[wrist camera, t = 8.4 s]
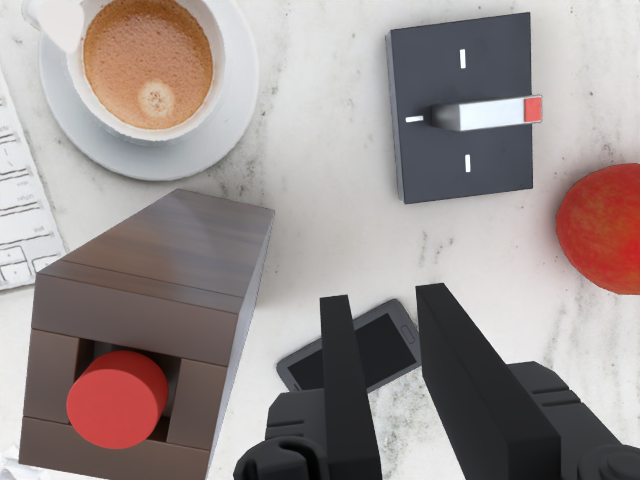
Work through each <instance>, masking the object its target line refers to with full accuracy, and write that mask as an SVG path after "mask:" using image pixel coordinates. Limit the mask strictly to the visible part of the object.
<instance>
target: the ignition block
mask: <svg viewBox="0 0 640 480" xmlns="http://www.w3.org/2000/svg"><path fill="white" fill-rule="evenodd" d="M274 214H275V210H271V209H267V208H262V207H258V206H253V205H249V204H244V203H240V202H235V201H230V200H226V199H221V198H217V197H212V196H208V195H203V194H199V193H194V192H190V191H185V190H181V189H176V190H174V191H173V192H171V193H169V194H168V195H166V196H164V197H163V198H161V199H159V200H158V201H156V202H154V203H153V204H151V205H149V206H148V207H146V208H144V209H143V210H141V211H139V212H138V213H136V214H134V215H133V216H131V217H129V218H128V219H126V220H124V221H122V222H121V223H119V224H117V225H116V226H114V227H112V228H111V229H109V230H107V231H106V232H104V233H102V234H101V235H99V236H97V237H96V238H94V239H92V240H91V241H89V242H87V243H86V244H84V245H82V246H81V247H79V248H77V249H76V250H74V251H72V252H71V253H69V254H67V255H66V256H64V257H62V258H61V259H59V260H57V261H55V262H54V263H52V264H50V265H49V266H47V267H45V268H44V269H42V270H40V271H39V272H37V273H36V280H35V291H34V301H33V312H32V322H31V328H32V329H31V335H30V346H29V356H28V367H27V377H26V388H25V398H24V409H23V415H24V416H23V419H22V430H21V440H20V451H19V461H18V463H19V464H23V465H29V466H35V467H40V468H46V469H52V470H57V471H63V472H69V473H74V474H80V475H86V476H91V477H97V478H103V479H108V480H207V476H208V472H209V469H210V465H211V462H212V458H213V455H214V451H215V448H216V444H217V440H218V437H219V433H220V430H221V426H222V423H223V419H224V415H225V412H226V408H227V405H228V401H229V398H230V394H231V390H232V387H233V383H234V380H235V376H236V373H237V369H238V366H239V362H240V358H241V355H242V351H243V348H244V344H245V341H246V337H247V333H248V330H249V326H250V323H251V319H252V316H253V312H254V308H255V303H256V299H257V294H258V289H259V285H260V280H261V275H262V270H263V266H264V261H265V256H266V252H267V247H268V242H269V237H270V233H271V228H272V223H273V219H274ZM119 350H127V351H133V352H137V353H140V354H142V355H144V356H146V357H148V358H150V359H151V360H153V361H154V362H155V363H156V364H157V365H158V366H159V367H160V368H161V370H162V371H163V373H164V375H165V377H166V379H167V382H168V387H169V396H168V400H167V403H166V406H165V408H164V410H163V412H162V414H161V416H160V418H159V420H158V422H157V424H156V426H155V428H154V430H153V431H152V433H151V434H150V435H149V436H148V437H147V438H146V439H145V440H143V441H142V442H140V443H139V444H137V445H134V446H132V447H128V448H123V449H110V448H104V447H100V446H97V445H95V444H93V443H91V442H89V441H87V440H86V439H84V438H83V437H82V436H81V435H80V434H79V433H78V432H77V431H76V430H75V429H74V427H73V426H72V424H71V422H70V420H69V418H68V414H67V408H66V404H67V397H68V393H69V391H70V389H71V387H72V386H73V384H74V383H75V382H76V381H77V379H78V378H79V377H80V376H81V375H82V374H83V372H84V371H85V370H86V369H87V368H88V367H89V366H90V364H91V363H92V362H93V361H94V360H95V359H97V358H98V357H100V356H102V355H103V354H106V353H109V352H113V351H119Z"/></svg>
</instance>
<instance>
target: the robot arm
mask: <svg viewBox="0 0 640 480" xmlns="http://www.w3.org/2000/svg"><path fill="white" fill-rule="evenodd" d="M415 287H416V300H417V313H418V325H419V338H420V351H421V363H422V376H423V379H424V381H425V383H426V386H427V388H428V391H429V393H430V395H431V398H432V400H433V402H434V405H435V407H436V410H437V412H438V414H439V417H440V419H441V421H442V424H443V426H444V429H445V431H446V433H447V436H448V438H449V441H450V443H451V445H452V448H453V450H454V452H455V455H456V457H457V460H458V462H459V464H460V467H461V469H462V472H463V474H464V476H465V479H466V480H640V449H639V448H636V447H632V446H629V445H622V444H621V442H620V441H619V440H618V439H617V438H616V437H615V436H614V435H613V434H612V433H611V432H610V431H609V430H608V429H607V427H606V426H605V425H604V424H603V423H602V422H601V421H600V420H599V419H598V418H597V417H596V416H595V415H594V413H593V412H592V411H591V410H590V409H589V408H588V407H587V406H586V405H585V404H584V403H581V401H580V398H579V397H578V396H577V395H576V394H575V393H574V392H573V391H572V390H569V387H568V386H567V384H566V383H565V382H564V381H563V380H562V379H561V378H560V377H559V376H558V375H557V374H556V373H555V372H554V371H552V370H550V369H548V368H546V367H544V366H542V365H540V364H538V363H537V362H535V361H531V362H523V363H514V364H505V363H504V361H503V360H502V359H501V357H500V356H499V355H498V353H497V352H496V351H495V350H494V348H493V347H492V346H491V344H490V343H489V342H488V340H487V339H486V338H485V337H484V335H483V334H482V333H481V331H480V330H479V329H478V327H477V326H476V325H475V323H474V322H473V321H472V320H471V318H470V317H469V316H468V314H467V313H466V312H465V310H464V309H463V308H462V306H461V305H460V304H459V303H458V301H457V300H456V299H455V297H454V296H453V295H452V293H451V292H450V291H449V290H448V288H447V287H446V286H445V284H444V283H438V284H430V285H421V286H415ZM320 315H321V336H322V356H323V376H324V388H320V389H312V390H304V391H295V392H287V393H280V395H279V396H278V397H277V399H276V400H275V401H274V402H273V404H272V405H271V406H270V408H269V412H268V419H267V428H266V433H265V441H262V442H260V443H259V444H257V445H255V446H254V447H252V448H250V449H249V450H247V452H246V453H245V454H244V455H243V456H242V457H241V458H240V459H239V460H238V461H237V464H236V467H235V470H234V473H233V477H234V480H382V471H381V461H380V455H379V450H378V445H377V440H376V435H375V430H374V425H373V420H372V415H371V410H370V405H369V400H368V395H367V390H366V385H365V380H364V375H363V370H362V365H361V360H360V355H359V350H358V345H357V340H356V335H355V330H354V325H353V320H352V315H351V310H350V305H349V300H348V295H340V296H331V297H323V298H320Z"/></svg>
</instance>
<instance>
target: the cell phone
mask: <svg viewBox="0 0 640 480" xmlns="http://www.w3.org/2000/svg"><path fill="white" fill-rule="evenodd" d="M353 325H354V330H355V335H356V340H357V345H358V350H359V355H360V360H361V365H362V370H363V375H364V380H365V385H366V390H367V394H368V393H370V392H372V391H374V390H376V389H378V388H380V387H382V386H383V385H385V384H387V383H389V382H391V381H393V380H395V379H397V378H399V377H400V376H402V375H404V374H406V373H408V372H410V371H412V370H414V369H416V368H417V367H419V366H421V365H422V363H421V351H420V338H419V333H418V331H417V329H416V328H415V326H414V324H413V323H412V321H411V319H410V317H409V316H408V314H407V312H406V311H405V309H404V307H403V306H402V305H401V303H400V302H399V301H398V300H391V301H389V302H386V303H385V304H383V305H381V306H379V307H377V308H375V309H374V310H372V311H370V312H368V313H366V314H364V315H363V316H361V317H359V318H357V319H355V320H354V321H353ZM276 369H277V373H278V375H279V376H280V378H281V379H282V381H283V382H284V384H285V385H286V387H287V388H288V390H289V391H290V392H295V391H304V390H312V389H320V388H324V376H323V356H322V338H321V339H319V340H317V341H315V342H313V343H312V344H310V345H308V346H306V347H304V348H302V349H301V350H299V351H297V352H295V353H293V354H291V355H290V356H288V357H286V358H285V359H283V360H282V361H280V362H279V363H278V364H277V367H276Z"/></svg>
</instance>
